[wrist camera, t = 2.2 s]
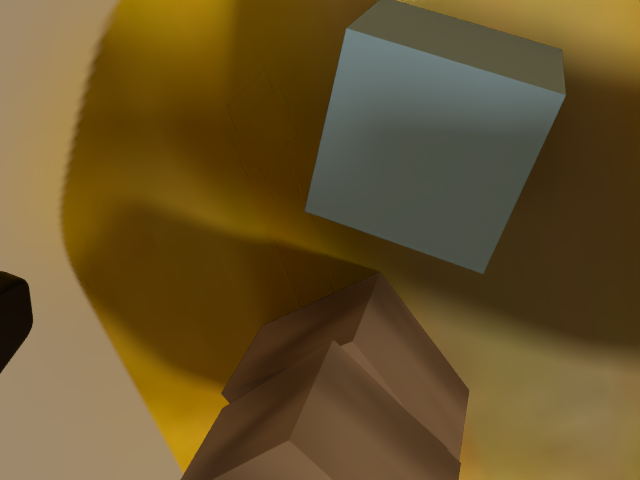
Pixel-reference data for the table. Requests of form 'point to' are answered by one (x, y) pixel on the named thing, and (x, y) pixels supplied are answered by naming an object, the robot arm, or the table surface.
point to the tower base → (365, 354)
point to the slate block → (433, 130)
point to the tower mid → (320, 430)
